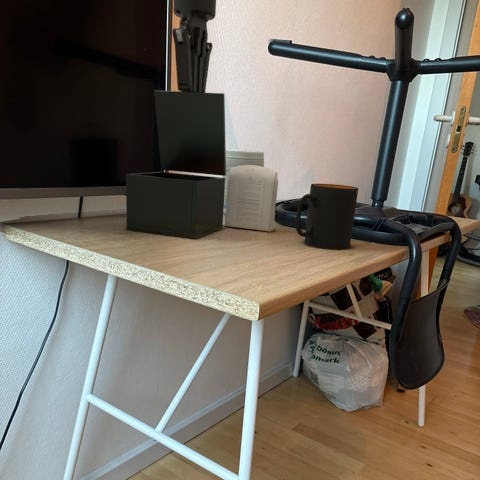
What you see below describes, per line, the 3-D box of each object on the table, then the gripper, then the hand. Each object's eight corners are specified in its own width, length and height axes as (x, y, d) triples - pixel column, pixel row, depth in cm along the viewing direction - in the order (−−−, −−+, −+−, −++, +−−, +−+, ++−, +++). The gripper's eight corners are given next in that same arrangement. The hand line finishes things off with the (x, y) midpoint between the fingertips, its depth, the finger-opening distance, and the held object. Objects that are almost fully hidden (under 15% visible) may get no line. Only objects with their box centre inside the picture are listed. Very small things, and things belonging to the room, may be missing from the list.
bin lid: (222, 93, 85) (224, 93, 86) (153, 90, 89) (155, 90, 90) (224, 176, 93) (226, 174, 94) (161, 169, 97) (163, 168, 98)
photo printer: (275, 229, 100) (281, 167, 96) (271, 232, 96) (277, 167, 92) (227, 224, 103) (231, 163, 98) (221, 227, 99) (225, 163, 94)
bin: (194, 239, 85) (197, 181, 81) (126, 229, 89) (125, 174, 85) (222, 228, 97) (225, 177, 94) (161, 220, 101) (162, 171, 97)
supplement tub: (246, 211, 124) (250, 150, 119) (267, 217, 117) (273, 152, 112) (213, 211, 119) (216, 148, 114) (233, 218, 112) (237, 150, 107)
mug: (279, 242, 88) (284, 182, 84) (328, 239, 94) (335, 183, 91) (308, 251, 81) (316, 188, 78) (359, 247, 88) (368, 188, 84)
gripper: (200, -22, 79) (194, 134, 87) (227, 1, 90) (220, 136, 99) (158, -21, 81) (156, 131, 89) (190, 1, 93) (186, 134, 101)
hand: (190, 134), depth 94 cm, fingers closed
